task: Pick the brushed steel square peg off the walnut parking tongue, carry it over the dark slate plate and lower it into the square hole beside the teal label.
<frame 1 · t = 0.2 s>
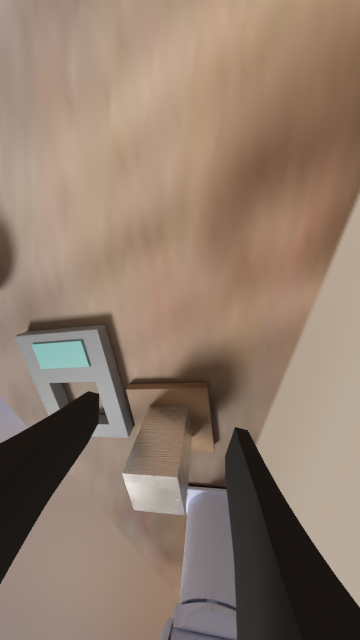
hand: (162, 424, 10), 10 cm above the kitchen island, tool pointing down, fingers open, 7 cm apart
hole plate: (82, 381, 23), on the kitchen island
parking tongue: (172, 414, 22), on the kitchen island
steel peg: (171, 421, 21), point 1 cm above the kitchen island, touching parking tongue
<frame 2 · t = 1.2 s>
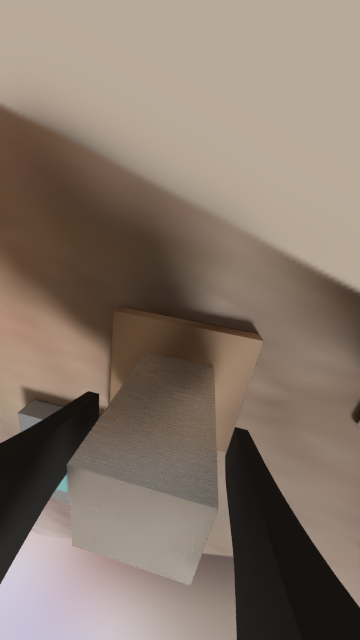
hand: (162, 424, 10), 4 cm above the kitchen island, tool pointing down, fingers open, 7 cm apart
hole plate: (107, 459, 17), on the kitchen island
parking tongue: (176, 378, 13), on the kitchen island
steel peg: (174, 387, 13), point 1 cm above the kitchen island, touching parking tongue
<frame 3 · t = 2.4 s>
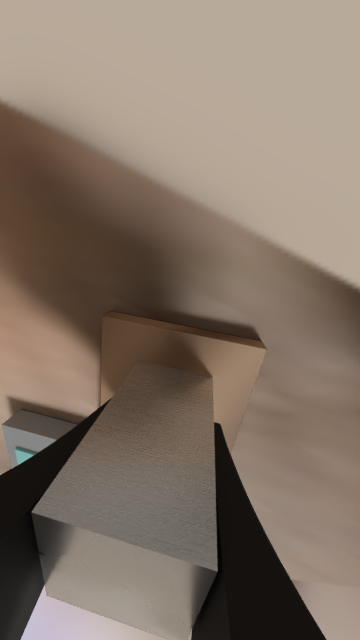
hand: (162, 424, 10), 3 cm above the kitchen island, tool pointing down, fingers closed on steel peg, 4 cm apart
hole plate: (100, 472, 16), on the kitchen island
parking tongue: (172, 388, 12), on the kitchen island
steel peg: (169, 398, 12), point 1 cm above the kitchen island, touching gripper, parking tongue
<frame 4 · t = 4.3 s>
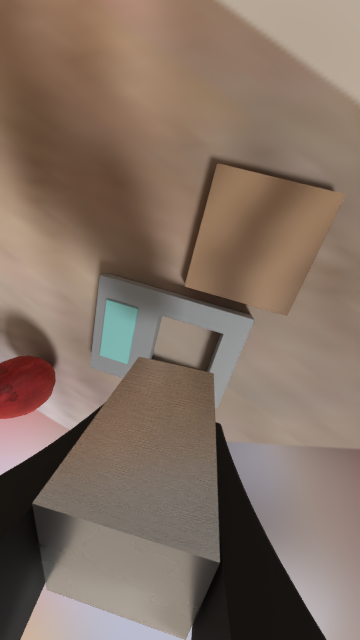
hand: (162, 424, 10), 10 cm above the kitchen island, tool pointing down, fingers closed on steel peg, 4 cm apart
onion: (51, 365, 23), on the kitchen island
hole plate: (166, 340, 19), on the kitchen island
parking tongue: (252, 246, 15), on the kitchen island
steel peg: (170, 395, 11), point 8 cm above the kitchen island, touching gripper
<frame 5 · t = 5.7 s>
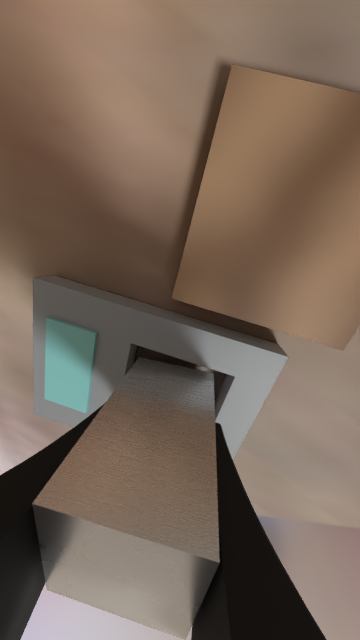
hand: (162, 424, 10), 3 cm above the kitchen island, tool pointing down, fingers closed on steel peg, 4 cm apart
hole plate: (145, 376, 13), on the kitchen island
parking tongue: (287, 233, 9), on the kitchen island
steel peg: (170, 395, 11), point 1 cm above the kitchen island, touching gripper
when the fingers open (3 cm above the kitchen island, at t = 6.5 s): steel peg drops 1 cm, resting in hole plate.
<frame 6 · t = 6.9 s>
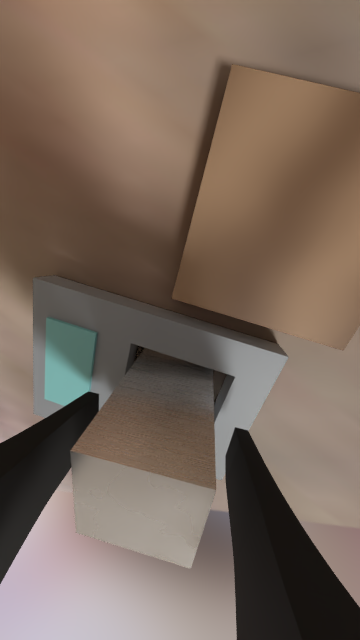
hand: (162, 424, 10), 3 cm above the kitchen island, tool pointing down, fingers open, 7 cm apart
hole plate: (145, 376, 13), on the kitchen island
parking tongue: (287, 232, 9), on the kitchen island
steel peg: (173, 382, 13), resting in hole plate
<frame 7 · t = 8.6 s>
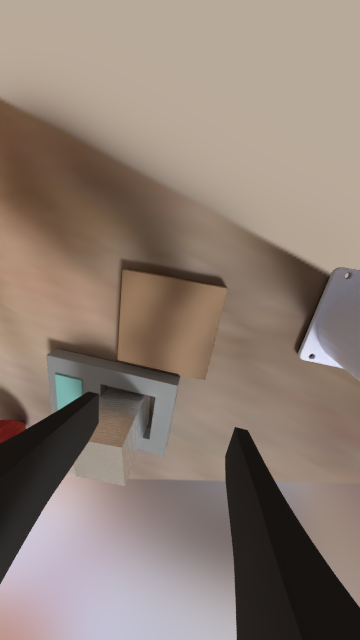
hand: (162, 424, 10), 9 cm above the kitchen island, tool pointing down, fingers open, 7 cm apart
onion: (24, 421, 26), on the kitchen island
hole plate: (114, 398, 22), on the kitchen island
parking tongue: (168, 324, 18), on the kitchen island
steel peg: (131, 401, 22), resting in hole plate
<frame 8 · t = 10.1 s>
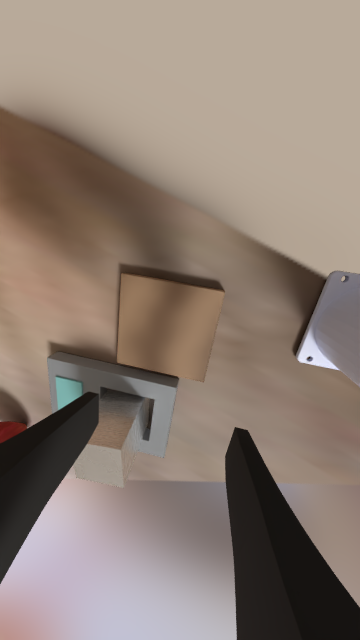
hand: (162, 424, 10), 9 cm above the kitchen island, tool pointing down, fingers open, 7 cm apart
onion: (25, 423, 26), on the kitchen island
hole plate: (114, 400, 22), on the kitchen island
parking tongue: (167, 327, 18), on the kitchen island
steel peg: (130, 403, 22), resting in hole plate
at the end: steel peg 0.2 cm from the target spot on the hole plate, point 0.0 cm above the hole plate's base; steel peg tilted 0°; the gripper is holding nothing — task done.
